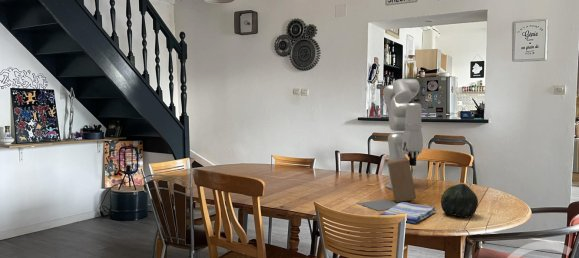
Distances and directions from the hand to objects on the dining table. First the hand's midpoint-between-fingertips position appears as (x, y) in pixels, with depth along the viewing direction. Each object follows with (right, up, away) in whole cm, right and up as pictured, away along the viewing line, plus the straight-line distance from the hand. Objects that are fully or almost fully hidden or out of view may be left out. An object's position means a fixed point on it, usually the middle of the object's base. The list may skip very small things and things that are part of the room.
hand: (412, 165), depth 213 cm
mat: (-17, -18, -7) cm, 26 cm away
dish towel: (-10, -20, -26) cm, 34 cm away
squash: (+13, -20, -26) cm, 35 cm away
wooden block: (-4, -17, 0) cm, 17 cm away
